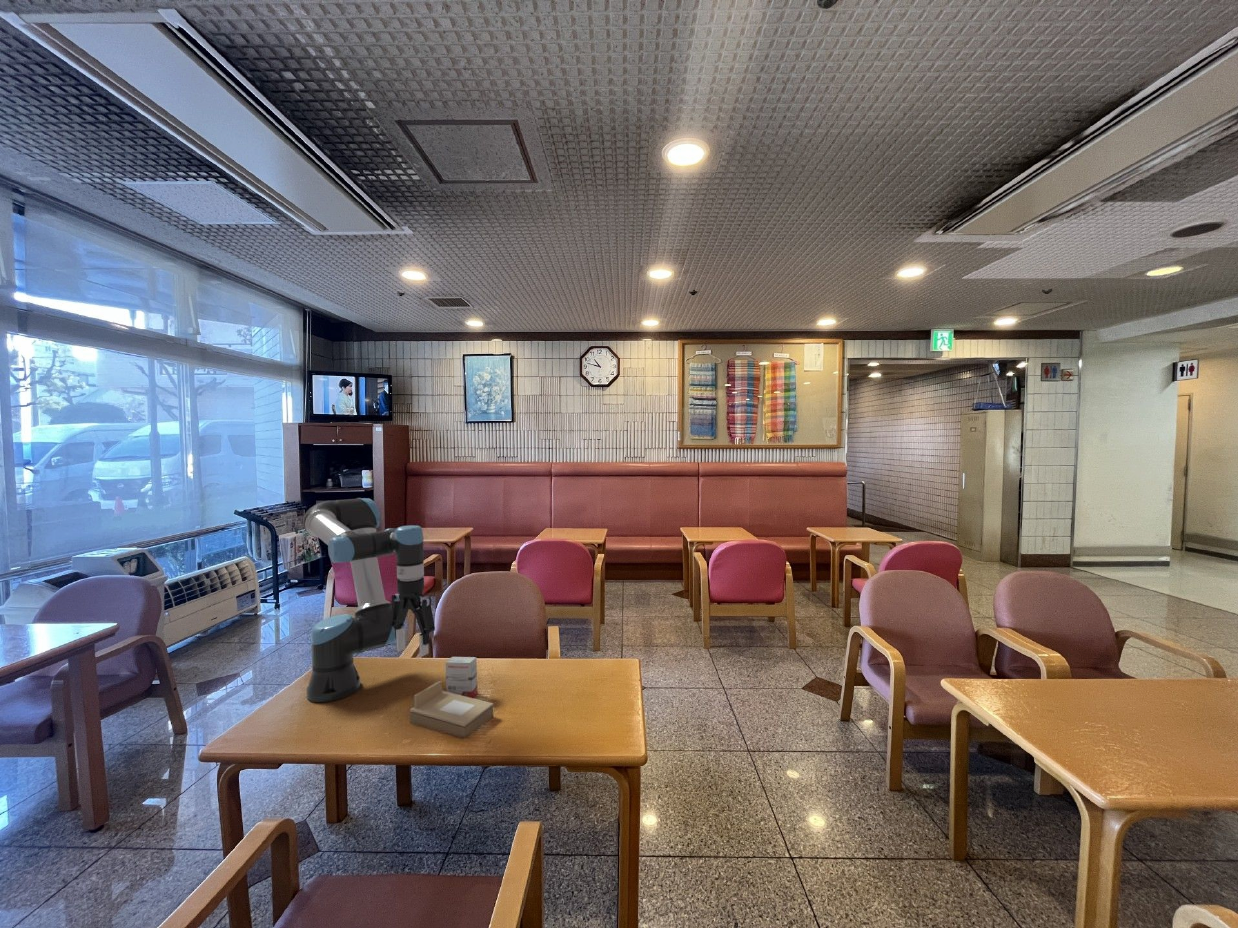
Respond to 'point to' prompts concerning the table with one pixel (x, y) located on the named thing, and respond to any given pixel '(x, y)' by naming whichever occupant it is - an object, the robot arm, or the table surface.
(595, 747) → the table surface
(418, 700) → the lid
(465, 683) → the ink box
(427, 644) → the robot arm
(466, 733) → the mailer
